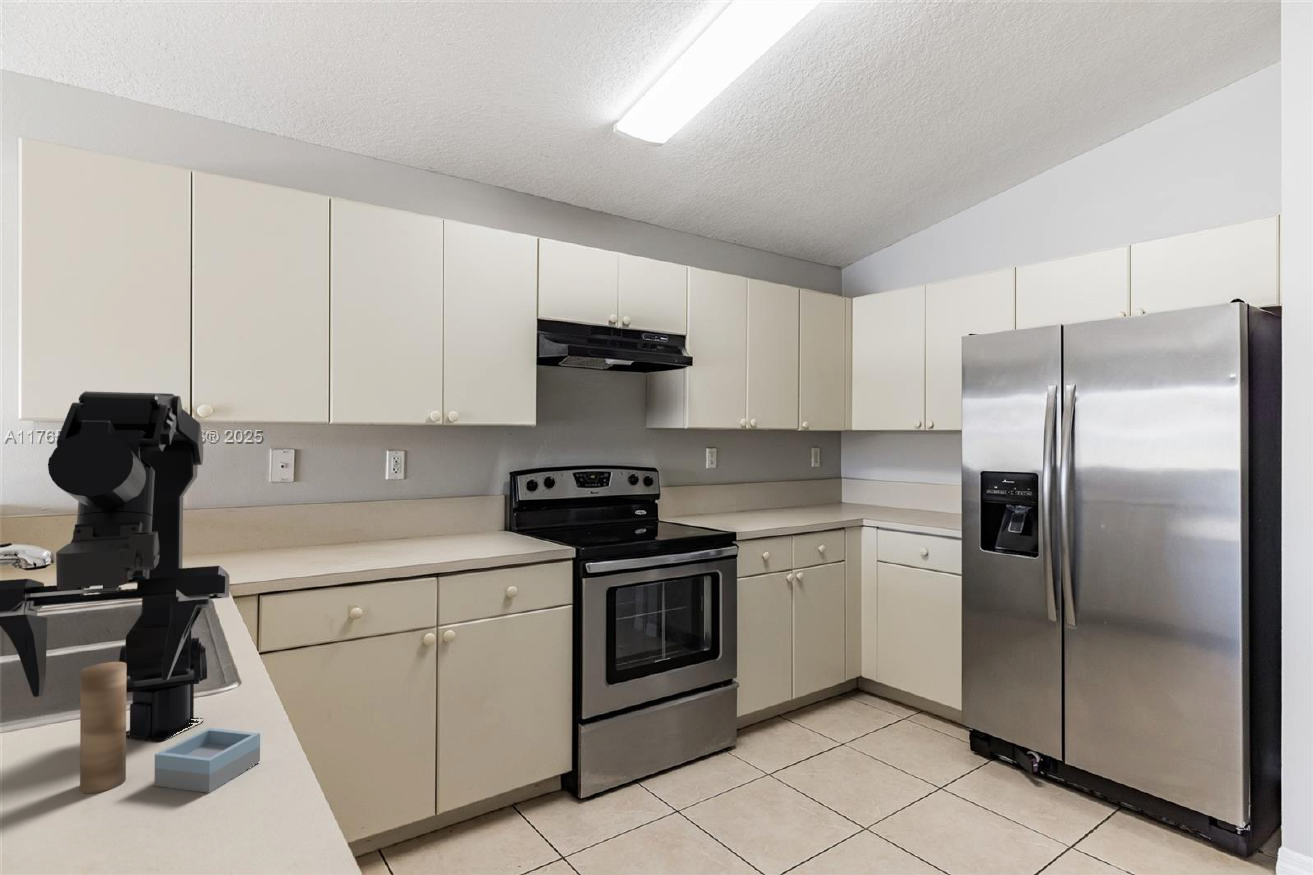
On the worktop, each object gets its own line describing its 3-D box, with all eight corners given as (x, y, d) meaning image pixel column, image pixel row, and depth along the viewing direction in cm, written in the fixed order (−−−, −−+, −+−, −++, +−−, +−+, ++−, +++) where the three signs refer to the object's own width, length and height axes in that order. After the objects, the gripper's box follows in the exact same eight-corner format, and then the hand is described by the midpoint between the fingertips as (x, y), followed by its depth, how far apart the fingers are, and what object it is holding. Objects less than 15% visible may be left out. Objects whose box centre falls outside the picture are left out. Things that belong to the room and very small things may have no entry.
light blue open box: (208, 756, 84) (209, 727, 84) (259, 762, 82) (260, 733, 82) (154, 785, 77) (154, 754, 77) (209, 793, 75) (209, 760, 75)
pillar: (106, 773, 80) (107, 660, 80) (134, 777, 79) (135, 663, 79) (70, 791, 76) (71, 672, 76) (100, 795, 75) (100, 674, 75)
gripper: (-53, 505, 55) (-80, 712, 52) (222, 497, 64) (216, 674, 60) (-2, 527, 65) (-21, 703, 61) (231, 518, 73) (227, 672, 70)
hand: (103, 688), depth 63 cm, fingers open, 9 cm apart
